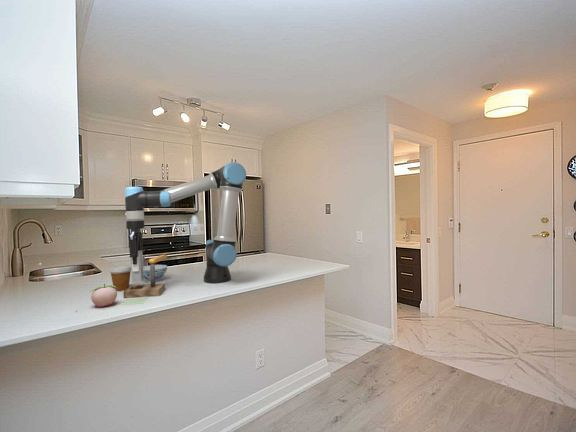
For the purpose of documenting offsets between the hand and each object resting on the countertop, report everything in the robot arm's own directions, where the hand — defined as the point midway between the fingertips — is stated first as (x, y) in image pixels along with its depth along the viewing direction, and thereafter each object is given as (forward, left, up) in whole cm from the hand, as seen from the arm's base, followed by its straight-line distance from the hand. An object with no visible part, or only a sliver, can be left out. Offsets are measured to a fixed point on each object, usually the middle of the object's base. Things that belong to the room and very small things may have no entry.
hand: (137, 270), depth 142 cm
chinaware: (+1, -32, -12) cm, 34 cm away
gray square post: (0, 0, -5) cm, 5 cm away
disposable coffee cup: (+11, -11, -12) cm, 20 cm away
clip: (-8, -6, +3) cm, 11 cm away
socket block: (-3, 0, -12) cm, 13 cm away
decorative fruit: (+8, +16, -12) cm, 22 cm away
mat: (-2, +12, -12) cm, 17 cm away
